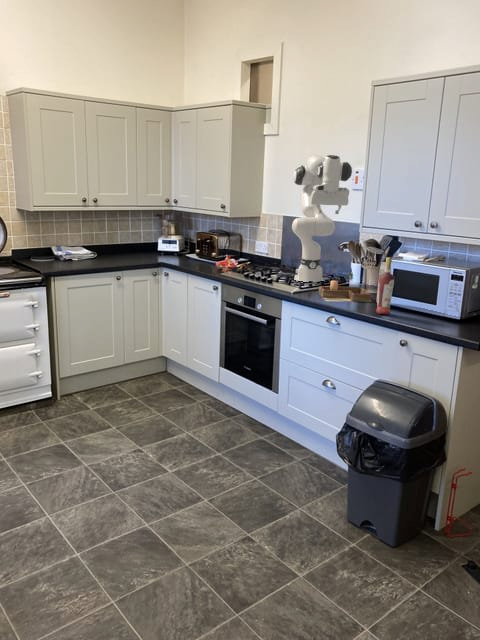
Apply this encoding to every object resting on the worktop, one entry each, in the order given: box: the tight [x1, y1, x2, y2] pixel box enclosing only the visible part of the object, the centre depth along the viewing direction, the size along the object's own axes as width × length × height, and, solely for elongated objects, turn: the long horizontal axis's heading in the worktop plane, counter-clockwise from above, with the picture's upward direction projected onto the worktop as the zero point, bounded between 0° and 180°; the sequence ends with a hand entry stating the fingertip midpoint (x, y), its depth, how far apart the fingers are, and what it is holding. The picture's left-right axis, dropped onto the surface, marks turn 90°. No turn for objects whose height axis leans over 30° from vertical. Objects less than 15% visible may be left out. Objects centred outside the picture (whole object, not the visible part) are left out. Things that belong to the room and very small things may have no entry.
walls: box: [318, 285, 372, 303], centre depth 291 cm, size 17×24×4 cm
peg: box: [329, 280, 339, 290], centre depth 293 cm, size 4×4×8 cm
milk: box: [375, 261, 386, 304], centre depth 283 cm, size 6×6×22 cm
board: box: [321, 296, 373, 303], centre depth 292 cm, size 17×25×1 cm
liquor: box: [375, 256, 396, 315], centre depth 261 cm, size 7×7×28 cm
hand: (328, 213), depth 289 cm, fingers open, 8 cm apart
